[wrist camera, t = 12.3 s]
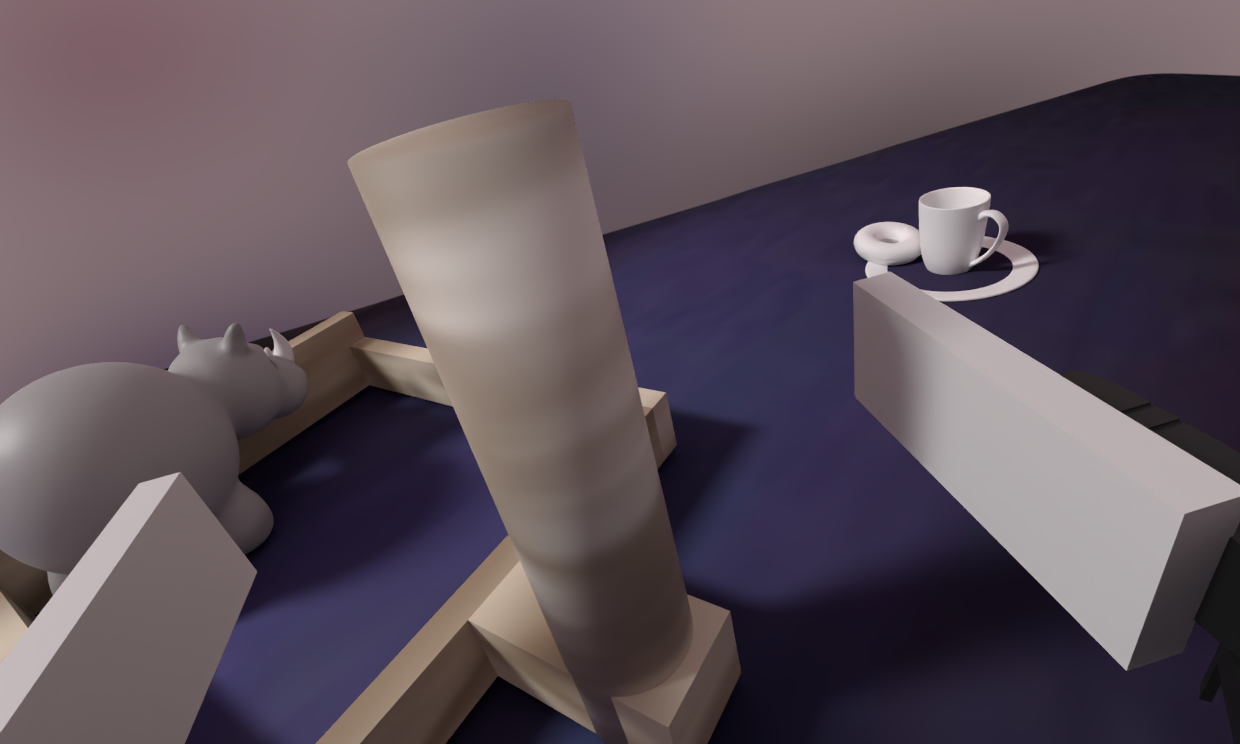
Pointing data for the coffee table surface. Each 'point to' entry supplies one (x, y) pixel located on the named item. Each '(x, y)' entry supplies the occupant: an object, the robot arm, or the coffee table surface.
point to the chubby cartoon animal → (138, 443)
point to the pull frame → (513, 447)
